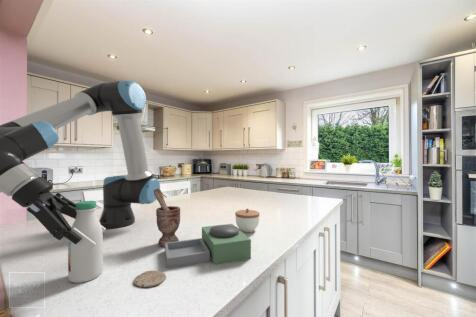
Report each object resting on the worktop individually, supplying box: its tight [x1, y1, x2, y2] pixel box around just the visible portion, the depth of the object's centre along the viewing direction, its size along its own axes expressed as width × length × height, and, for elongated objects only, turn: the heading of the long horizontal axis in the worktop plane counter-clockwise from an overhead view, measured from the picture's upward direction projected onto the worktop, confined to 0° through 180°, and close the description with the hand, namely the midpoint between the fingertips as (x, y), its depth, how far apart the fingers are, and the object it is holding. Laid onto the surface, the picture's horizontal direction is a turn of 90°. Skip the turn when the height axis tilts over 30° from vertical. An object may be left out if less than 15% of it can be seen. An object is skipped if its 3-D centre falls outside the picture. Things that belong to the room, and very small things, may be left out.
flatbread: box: [133, 270, 167, 288], centre depth 59 cm, size 8×8×1 cm
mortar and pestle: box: [154, 188, 181, 248], centre depth 84 cm, size 12×9×20 cm
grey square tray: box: [164, 237, 211, 269], centre depth 73 cm, size 13×13×3 cm
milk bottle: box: [67, 200, 104, 284], centre depth 60 cm, size 8×8×20 cm
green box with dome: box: [201, 223, 252, 266], centre depth 77 cm, size 18×12×7 cm, turn 21°
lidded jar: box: [234, 208, 260, 233], centre depth 99 cm, size 11×11×9 cm
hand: (97, 240), depth 61 cm, fingers open, 12 cm apart
